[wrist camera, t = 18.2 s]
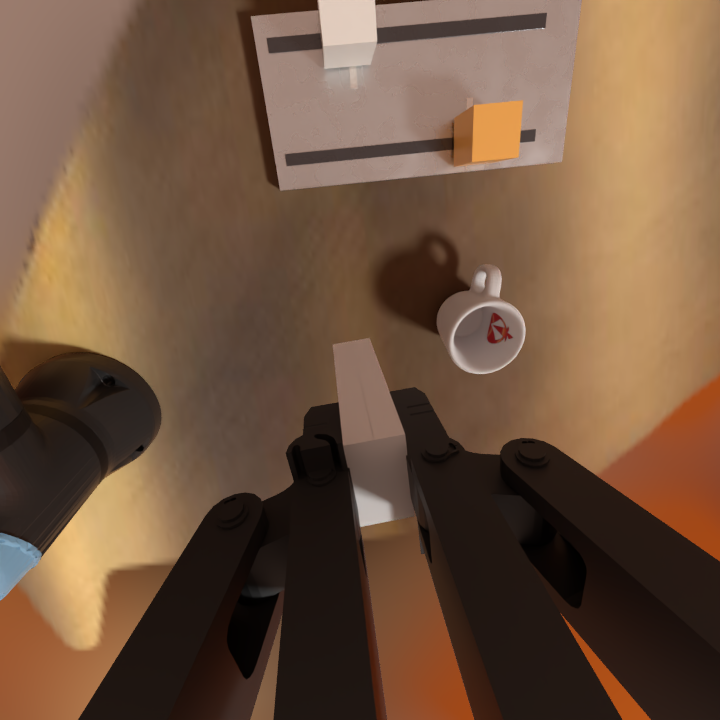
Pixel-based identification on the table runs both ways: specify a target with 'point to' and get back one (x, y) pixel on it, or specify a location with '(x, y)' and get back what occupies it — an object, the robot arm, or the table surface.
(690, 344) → the table surface
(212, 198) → the table surface
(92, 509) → the table surface
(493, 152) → the fader
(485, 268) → the cup
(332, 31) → the block
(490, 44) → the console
